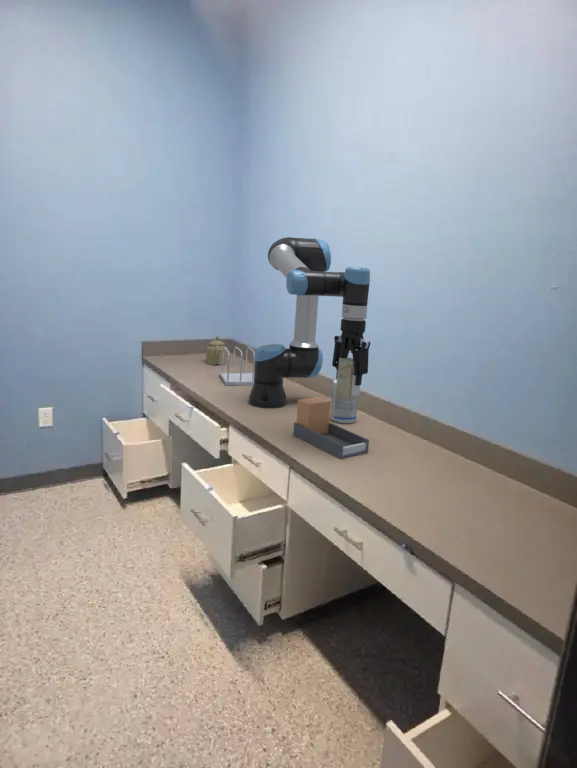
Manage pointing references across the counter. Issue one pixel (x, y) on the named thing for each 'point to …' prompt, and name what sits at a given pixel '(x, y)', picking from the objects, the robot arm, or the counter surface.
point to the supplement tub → (342, 407)
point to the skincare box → (345, 378)
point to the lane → (334, 440)
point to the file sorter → (237, 377)
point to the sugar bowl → (216, 352)
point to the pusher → (314, 414)
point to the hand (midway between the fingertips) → (347, 392)
